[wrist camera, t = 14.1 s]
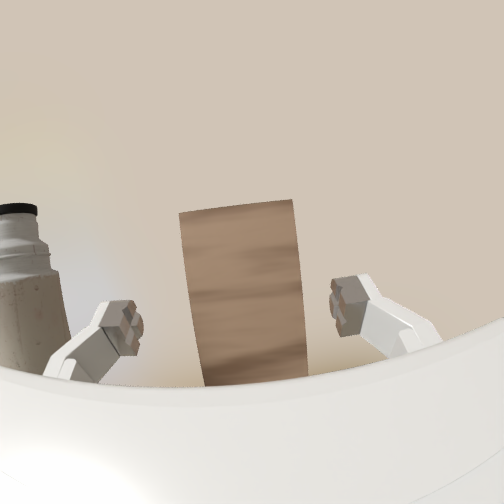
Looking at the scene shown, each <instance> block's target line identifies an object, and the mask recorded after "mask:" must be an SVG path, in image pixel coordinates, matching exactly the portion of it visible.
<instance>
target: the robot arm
mask: <svg viewBox="0 0 504 504" xmlns="http://www.w3.org/2000/svg"><path fill="white" fill-rule="evenodd" d="M331 289H332V291H333V292H332V294H331V295H330V301H329V303H330V311H331V314H332V317H333V318H334V319H336V328H337V330H338V333H339V335H340V337H346V336H352V335H357V334H360V336H361V337H363V338H364V339H365V340H366V341H368V342H369V343H370V344H371V345H373V346H374V347H375V348H376V349H378V350H379V351H380V352H381V353H382V354H384V355H385V356H386V357H387V358H388V359H386V360H382V361H378V362H374V363H370V364H366V365H362V366H358V367H353V368H348V369H344V370H339V371H334V372H329V373H323V374H318V375H312V376H306V377H299V378H293V379H286V380H278V381H270V382H261V383H251V384H240V385H226V386H207V387H142V386H122V385H110V384H99V383H98V382H99V381H100V380H101V379H102V378H103V376H104V375H105V374H106V373H107V372H108V371H109V369H110V368H111V367H112V366H113V365H114V363H115V362H116V361H117V360H118V359H119V358H120V356H137V353H138V349H139V346H140V343H139V341H138V339H140V337H142V335H143V330H144V329H143V320H142V318H141V315H140V314H138V313H137V312H136V311H135V310H136V308H137V307H136V305H135V303H134V301H132V300H121V301H103V302H101V303H100V304H99V306H98V308H97V310H96V312H95V314H94V317H93V319H92V321H91V323H90V325H89V327H85V328H84V329H83V330H82V331H80V332H79V333H78V334H77V335H76V336H74V337H73V338H72V339H71V340H70V341H68V342H67V343H66V344H65V345H63V346H62V347H61V348H60V349H59V350H58V351H56V352H55V353H54V354H53V355H52V356H51V357H50V359H49V362H48V364H47V366H46V368H45V371H44V373H43V375H38V374H33V373H28V372H23V371H19V370H15V369H10V368H6V367H3V366H0V504H504V317H502V318H499V319H497V320H494V321H492V322H490V323H488V324H486V325H484V326H481V327H479V328H477V329H474V330H472V331H469V332H467V333H464V334H462V335H460V336H457V337H454V338H451V339H449V340H446V341H442V339H441V337H440V336H439V334H438V332H437V331H436V329H435V328H434V326H433V325H432V323H431V322H430V321H429V320H427V319H425V318H423V317H421V316H420V315H418V314H416V313H414V312H412V311H410V310H409V309H407V308H405V307H403V306H401V305H399V304H398V303H396V302H394V301H392V300H390V299H388V298H386V297H385V298H383V297H382V295H381V294H380V292H379V290H378V289H377V287H376V286H375V284H374V282H373V281H372V279H371V278H370V276H369V274H367V273H365V274H359V275H355V276H348V277H342V278H335V279H332V281H331Z"/></svg>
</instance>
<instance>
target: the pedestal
mask: <svg viewBox="0 0 504 504" xmlns="http://www.w3.org/2000/svg"><path fill="white" fill-rule="evenodd" d="M179 219H180V230H181V239H182V248H183V256H184V264H185V272H186V279H187V286H188V293H189V300H190V306H191V313H192V319H193V325H194V331H195V337H196V342H197V348H198V353H199V358H200V364H201V368H202V374H203V378H204V383H205V387H207V386H226V385H240V384H251V383H261V382H270V381H278V380H286V379H293V378H299V377H306V376H308V362H307V345H306V331H305V317H304V305H303V293H302V282H301V272H300V262H299V252H298V243H297V236H296V226H295V219H294V210H293V202H292V199H290V200H280V201H270V202H261V203H252V204H243V205H236V206H227V207H219V208H211V209H204V210H196V211H189V212H183V213H179Z"/></svg>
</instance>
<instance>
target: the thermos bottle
mask: <svg viewBox="0 0 504 504" xmlns="http://www.w3.org/2000/svg"><path fill="white" fill-rule="evenodd" d="M36 216H37V206H35V205H33V204H28V203H10V204H3V205H0V366H3V367H6V368H10V369H15V370H19V371H23V372H28V373H33V374H38V375H43V373H44V371H45V368H46V366H47V364H48V362H49V359H50V357H51V356H52V355H53V354H54V353H55V352H56V351H58V350H59V349H60V348H61V347H62V346H63V345H65V344H66V343H67V342H68V341H70V340H71V335H70V331H69V326H68V322H67V317H66V313H65V308H64V302H63V297H62V291H61V285H60V278H59V273H58V271H56V270H53V269H51V266H50V258H49V256H50V255H51V254H50V253H49V248H48V245H47V244H46V243H44V242H43V241H41V240H40V239H39V235H38V223H37V222H36Z"/></svg>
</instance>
